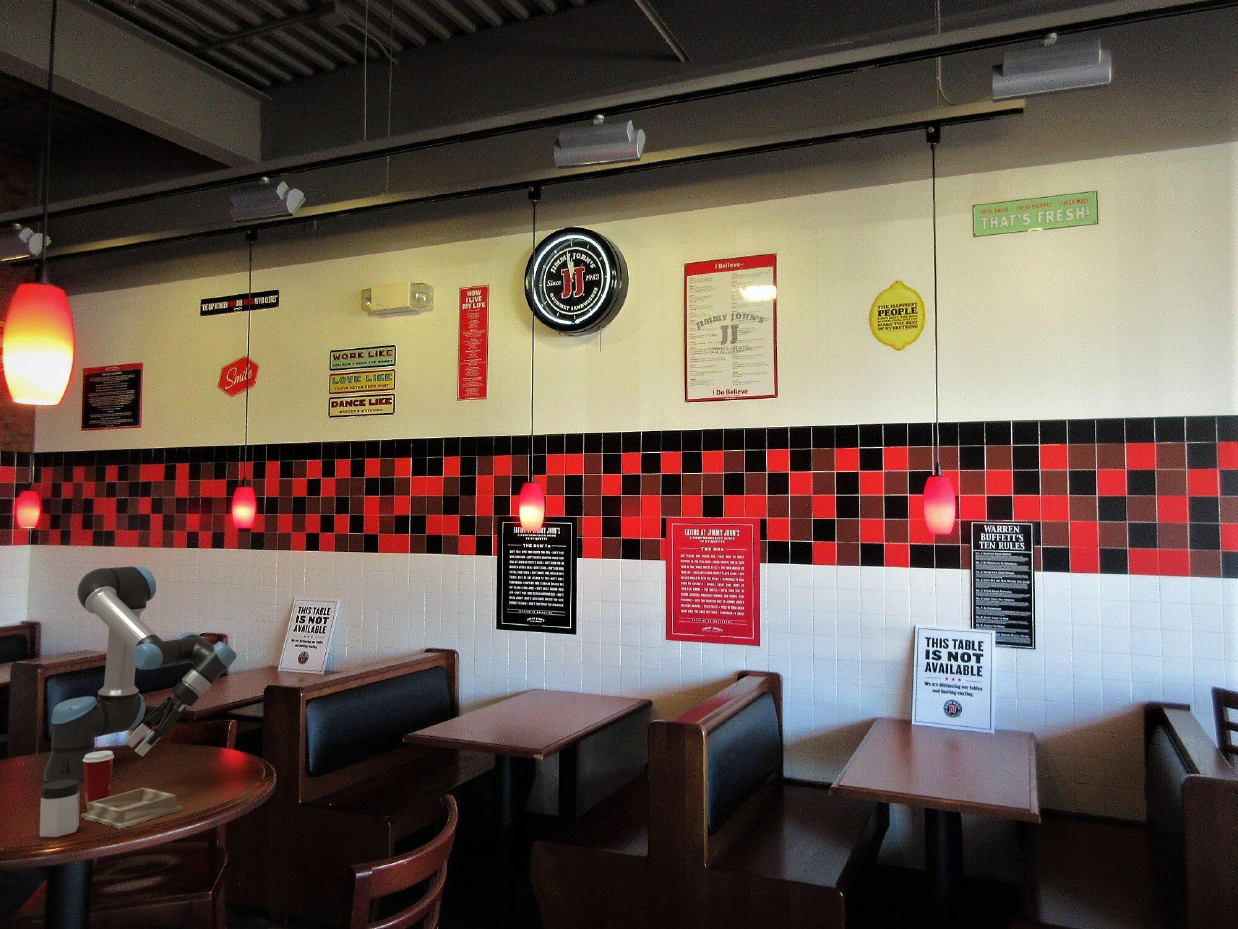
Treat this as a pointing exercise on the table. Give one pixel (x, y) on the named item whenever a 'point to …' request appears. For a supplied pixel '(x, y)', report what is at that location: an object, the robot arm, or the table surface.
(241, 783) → the table surface
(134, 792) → the cup tray
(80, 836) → the table surface
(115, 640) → the robot arm
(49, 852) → the table surface
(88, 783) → the paper cup
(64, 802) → the jar
